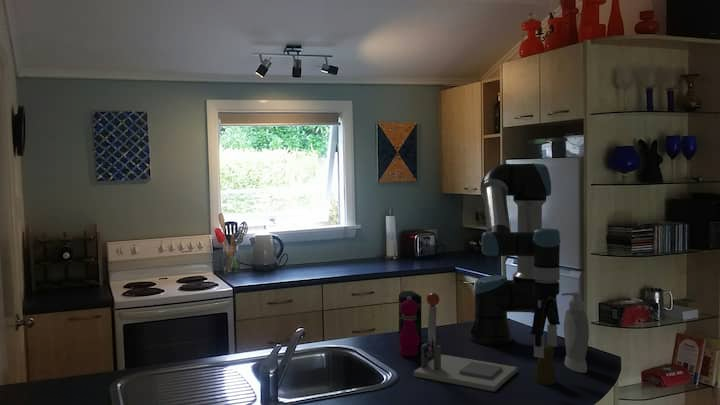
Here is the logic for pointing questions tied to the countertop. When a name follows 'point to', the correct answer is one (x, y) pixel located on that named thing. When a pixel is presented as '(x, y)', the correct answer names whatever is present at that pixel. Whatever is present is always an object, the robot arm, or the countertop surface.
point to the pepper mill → (409, 328)
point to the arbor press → (463, 371)
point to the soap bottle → (576, 334)
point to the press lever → (431, 324)
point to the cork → (546, 367)
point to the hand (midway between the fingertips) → (545, 351)
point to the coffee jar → (417, 299)
